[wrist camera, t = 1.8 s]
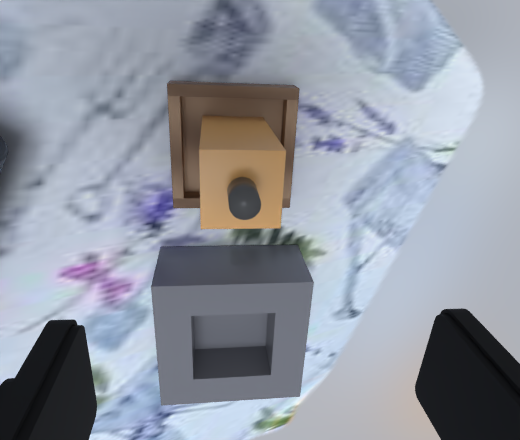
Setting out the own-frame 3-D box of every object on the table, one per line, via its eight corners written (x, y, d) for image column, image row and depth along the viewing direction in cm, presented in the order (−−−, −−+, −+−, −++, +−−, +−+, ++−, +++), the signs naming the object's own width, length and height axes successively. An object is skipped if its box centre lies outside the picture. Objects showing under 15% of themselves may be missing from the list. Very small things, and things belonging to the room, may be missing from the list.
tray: (169, 80, 28) (167, 83, 26) (293, 85, 29) (299, 88, 27) (175, 198, 32) (173, 208, 30) (285, 198, 33) (289, 207, 31)
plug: (202, 115, 29) (197, 160, 18) (262, 116, 29) (293, 161, 19) (203, 173, 31) (199, 246, 20) (260, 174, 31) (286, 244, 20)
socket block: (160, 246, 33) (151, 286, 28) (297, 244, 35) (313, 282, 30) (168, 354, 38) (161, 405, 33) (287, 348, 40) (299, 396, 34)
